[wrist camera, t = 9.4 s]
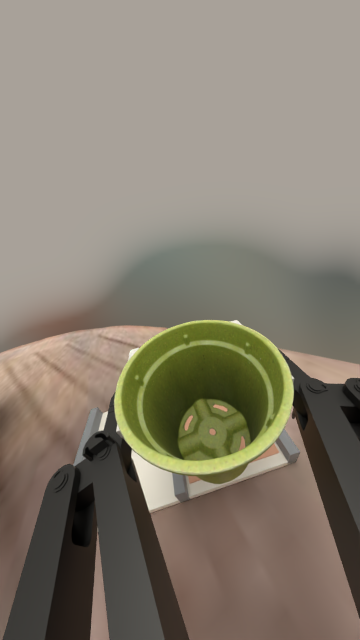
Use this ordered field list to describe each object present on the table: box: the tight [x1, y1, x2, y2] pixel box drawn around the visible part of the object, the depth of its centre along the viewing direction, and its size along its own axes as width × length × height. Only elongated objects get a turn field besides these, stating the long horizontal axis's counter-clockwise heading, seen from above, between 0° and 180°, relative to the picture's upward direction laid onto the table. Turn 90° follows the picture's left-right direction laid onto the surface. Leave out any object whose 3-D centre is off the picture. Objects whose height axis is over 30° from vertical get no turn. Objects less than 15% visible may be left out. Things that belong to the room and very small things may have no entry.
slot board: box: [73, 404, 300, 532], centre depth 24 cm, size 28×14×3 cm, turn 101°
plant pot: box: [114, 320, 294, 484], centre depth 11 cm, size 9×9×9 cm
